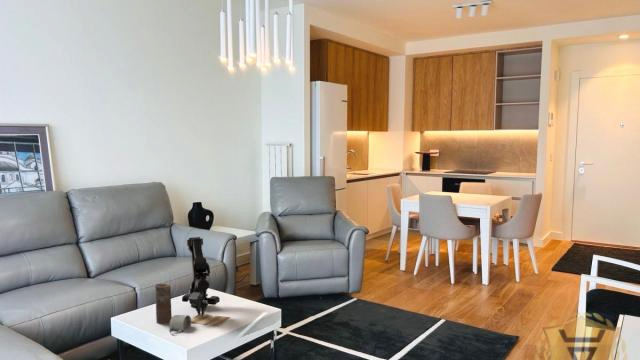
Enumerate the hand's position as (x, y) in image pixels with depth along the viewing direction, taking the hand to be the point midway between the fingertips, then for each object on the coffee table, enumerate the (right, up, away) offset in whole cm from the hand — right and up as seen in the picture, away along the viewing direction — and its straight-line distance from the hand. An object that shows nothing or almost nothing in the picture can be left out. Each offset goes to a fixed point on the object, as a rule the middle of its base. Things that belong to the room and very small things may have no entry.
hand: (200, 315), depth 245 cm
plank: (+1, -2, -3) cm, 4 cm away
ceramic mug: (-6, -4, -16) cm, 18 cm away
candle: (-17, -3, -6) cm, 18 cm away
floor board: (+10, -2, -6) cm, 11 cm away
